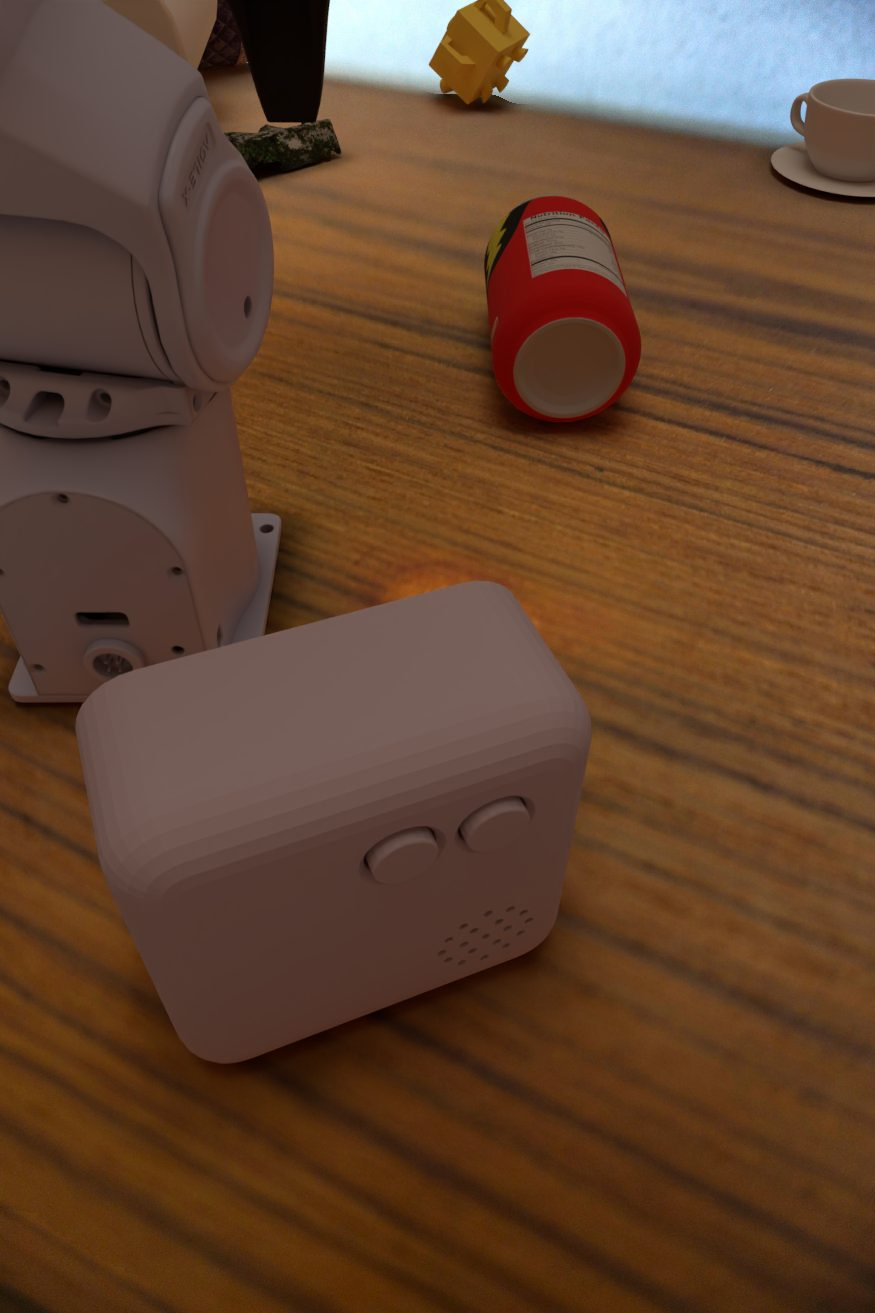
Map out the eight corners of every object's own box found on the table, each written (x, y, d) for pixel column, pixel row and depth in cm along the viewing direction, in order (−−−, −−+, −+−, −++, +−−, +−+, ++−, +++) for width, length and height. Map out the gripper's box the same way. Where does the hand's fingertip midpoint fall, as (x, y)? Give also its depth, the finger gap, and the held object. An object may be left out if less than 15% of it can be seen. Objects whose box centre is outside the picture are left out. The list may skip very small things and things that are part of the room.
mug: (132, 74, 72) (276, 58, 77) (101, -39, 69) (253, -49, 74) (96, 102, 80) (229, 85, 85) (67, 2, 77) (206, -9, 82)
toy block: (499, 109, 78) (449, 58, 77) (555, 19, 71) (501, -37, 71) (451, 140, 73) (397, 86, 72) (507, 47, 67) (448, -13, 66)
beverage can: (645, 424, 42) (610, 296, 51) (645, 286, 38) (606, 170, 46) (502, 443, 43) (490, 314, 51) (485, 310, 38) (475, 192, 47)
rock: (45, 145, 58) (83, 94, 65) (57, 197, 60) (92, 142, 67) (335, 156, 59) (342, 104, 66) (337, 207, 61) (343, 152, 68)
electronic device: (197, 1105, 23) (91, 889, 16) (160, 936, 26) (56, 690, 19) (572, 959, 26) (628, 716, 18) (499, 821, 29) (523, 566, 21)
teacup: (954, 177, 64) (983, 99, 60) (873, 218, 59) (900, 135, 56) (822, 137, 69) (842, 62, 65) (738, 171, 64) (756, 92, 61)
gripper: (365, -354, 25) (383, 184, 35) (383, -354, 35) (393, 64, 45) (97, -356, 25) (190, 183, 35) (191, -356, 35) (243, 64, 45)
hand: (293, 117), depth 40 cm, fingers closed
